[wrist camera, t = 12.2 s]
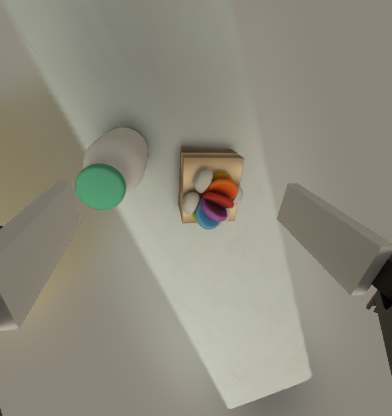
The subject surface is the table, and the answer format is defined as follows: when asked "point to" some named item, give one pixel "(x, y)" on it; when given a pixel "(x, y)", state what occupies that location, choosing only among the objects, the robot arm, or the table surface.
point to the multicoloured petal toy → (212, 198)
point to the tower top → (211, 161)
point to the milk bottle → (112, 168)
